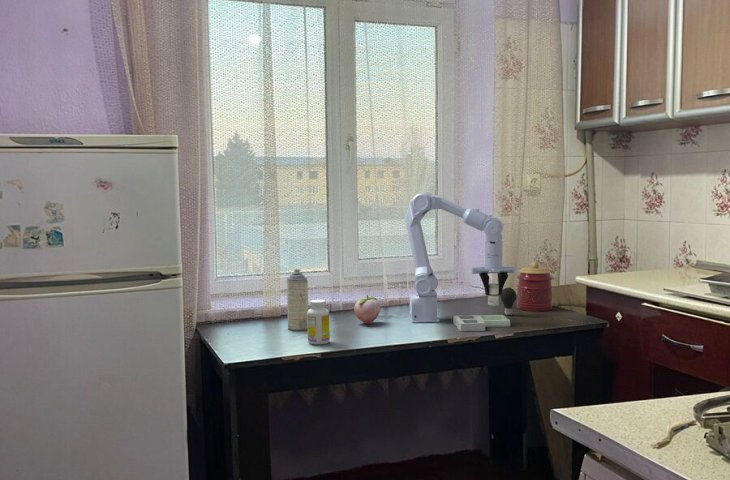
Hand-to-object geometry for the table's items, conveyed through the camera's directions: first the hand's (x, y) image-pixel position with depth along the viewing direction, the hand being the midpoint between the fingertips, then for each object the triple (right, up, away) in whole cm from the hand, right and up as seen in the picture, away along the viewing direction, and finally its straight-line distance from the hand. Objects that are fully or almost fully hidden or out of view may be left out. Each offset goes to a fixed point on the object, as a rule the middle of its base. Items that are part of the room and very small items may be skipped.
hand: (493, 294), depth 236 cm
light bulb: (+8, -9, +14) cm, 19 cm away
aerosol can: (-65, -11, -3) cm, 66 cm away
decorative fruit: (-43, -10, +3) cm, 44 cm away
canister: (+20, -7, +26) cm, 34 cm away
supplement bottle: (-57, -13, -22) cm, 63 cm away
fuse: (0, -3, 0) cm, 3 cm away
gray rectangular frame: (-9, -10, -3) cm, 14 cm away
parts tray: (0, -10, +1) cm, 10 cm away
